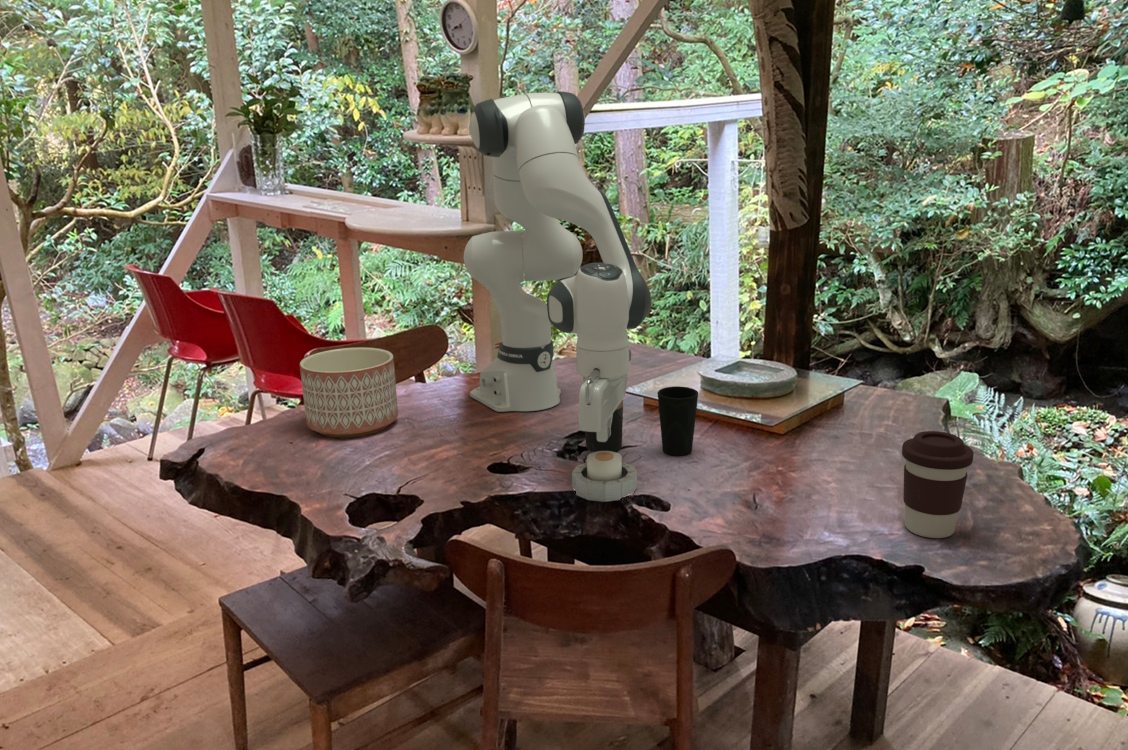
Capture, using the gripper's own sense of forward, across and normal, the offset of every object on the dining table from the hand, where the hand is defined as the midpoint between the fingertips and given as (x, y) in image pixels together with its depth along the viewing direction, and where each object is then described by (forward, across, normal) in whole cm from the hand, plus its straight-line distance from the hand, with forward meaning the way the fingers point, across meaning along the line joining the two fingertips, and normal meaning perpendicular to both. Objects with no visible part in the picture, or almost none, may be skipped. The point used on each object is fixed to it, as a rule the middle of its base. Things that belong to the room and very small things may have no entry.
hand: (603, 439), depth 151 cm
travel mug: (+9, +19, +5) cm, 22 cm away
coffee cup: (+10, -4, -53) cm, 54 cm away
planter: (+9, +20, +60) cm, 64 cm away
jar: (+8, 0, 0) cm, 8 cm away
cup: (+9, +20, -10) cm, 24 cm away
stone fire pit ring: (+9, 0, 0) cm, 9 cm away
